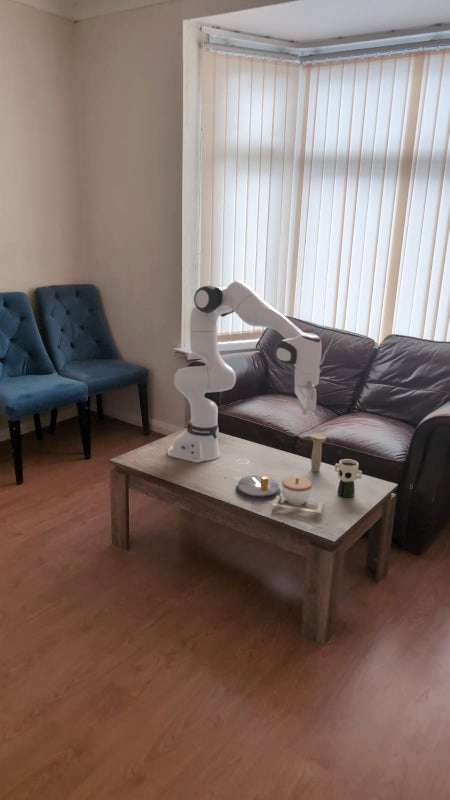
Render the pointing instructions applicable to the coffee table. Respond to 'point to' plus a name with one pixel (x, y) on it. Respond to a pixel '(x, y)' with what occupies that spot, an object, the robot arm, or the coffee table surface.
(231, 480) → the coffee table surface
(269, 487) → the turntable
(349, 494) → the character mug
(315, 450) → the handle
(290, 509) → the cream u-shaped bracket
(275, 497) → the base
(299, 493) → the lidded jar
